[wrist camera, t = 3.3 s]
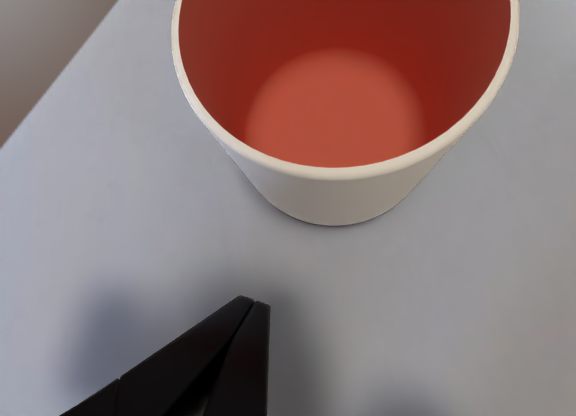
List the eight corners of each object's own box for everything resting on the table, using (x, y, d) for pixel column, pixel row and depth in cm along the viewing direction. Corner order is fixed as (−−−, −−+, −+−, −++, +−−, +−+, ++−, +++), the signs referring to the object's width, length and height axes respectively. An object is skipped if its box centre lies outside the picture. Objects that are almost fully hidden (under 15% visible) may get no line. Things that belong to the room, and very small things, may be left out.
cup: (250, 60, 22) (186, -118, 12) (424, 56, 20) (510, -146, 11) (238, 226, 20) (150, 175, 10) (429, 232, 19) (536, 182, 9)
